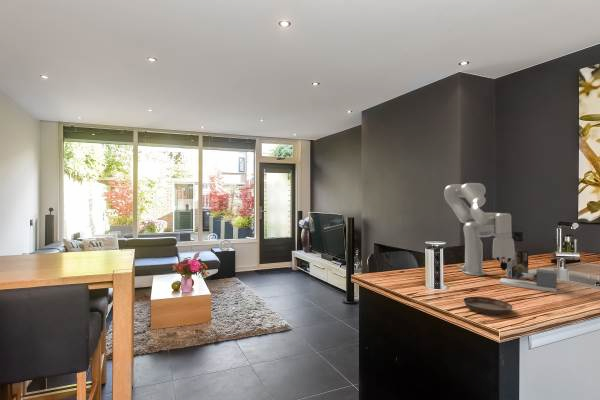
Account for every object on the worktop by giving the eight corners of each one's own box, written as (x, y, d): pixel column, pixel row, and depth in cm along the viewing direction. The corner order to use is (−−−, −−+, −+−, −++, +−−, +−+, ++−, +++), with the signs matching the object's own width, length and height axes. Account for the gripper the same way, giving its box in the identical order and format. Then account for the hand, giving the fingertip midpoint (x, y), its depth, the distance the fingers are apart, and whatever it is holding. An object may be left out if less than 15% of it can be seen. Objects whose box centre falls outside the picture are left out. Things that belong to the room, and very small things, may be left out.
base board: (499, 284, 176) (499, 281, 176) (501, 280, 184) (501, 277, 184) (556, 292, 162) (556, 289, 162) (555, 287, 170) (555, 284, 170)
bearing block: (536, 285, 167) (536, 271, 167) (536, 282, 174) (536, 269, 174) (556, 288, 163) (556, 274, 163) (555, 285, 169) (555, 271, 169)
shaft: (514, 279, 174) (514, 270, 174) (514, 277, 178) (514, 268, 178) (541, 283, 168) (541, 273, 167) (541, 281, 172) (541, 271, 172)
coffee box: (522, 276, 194) (522, 249, 194) (528, 279, 188) (529, 250, 188) (505, 276, 195) (506, 248, 195) (511, 278, 189) (512, 250, 189)
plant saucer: (479, 300, 148) (480, 294, 148) (521, 313, 133) (522, 305, 133) (453, 306, 140) (454, 299, 140) (495, 320, 124) (495, 312, 124)
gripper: (486, 235, 180) (487, 269, 180) (519, 237, 172) (520, 272, 171) (488, 234, 186) (488, 267, 186) (520, 236, 178) (520, 270, 177)
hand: (503, 269), depth 178 cm, fingers closed
